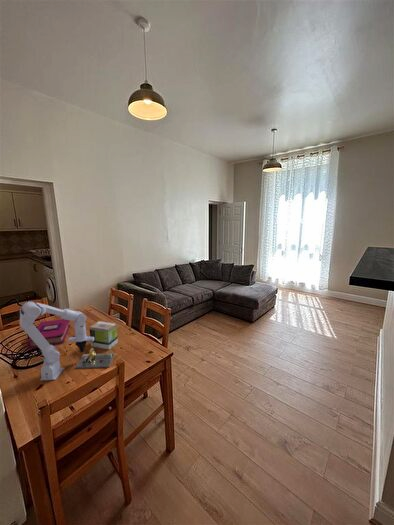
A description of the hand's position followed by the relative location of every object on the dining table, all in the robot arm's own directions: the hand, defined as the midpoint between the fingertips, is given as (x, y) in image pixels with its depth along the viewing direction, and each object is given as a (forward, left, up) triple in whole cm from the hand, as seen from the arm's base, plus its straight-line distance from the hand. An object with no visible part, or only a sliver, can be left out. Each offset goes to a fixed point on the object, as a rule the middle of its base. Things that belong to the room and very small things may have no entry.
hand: (82, 351), depth 133 cm
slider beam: (-2, -8, -4) cm, 10 cm away
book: (+30, +35, -6) cm, 47 cm away
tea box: (+16, -7, -6) cm, 19 cm away
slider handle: (-1, -5, -4) cm, 7 cm away
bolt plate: (-3, -8, -6) cm, 10 cm away
